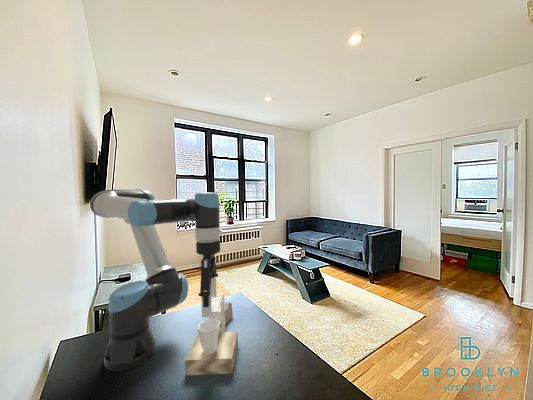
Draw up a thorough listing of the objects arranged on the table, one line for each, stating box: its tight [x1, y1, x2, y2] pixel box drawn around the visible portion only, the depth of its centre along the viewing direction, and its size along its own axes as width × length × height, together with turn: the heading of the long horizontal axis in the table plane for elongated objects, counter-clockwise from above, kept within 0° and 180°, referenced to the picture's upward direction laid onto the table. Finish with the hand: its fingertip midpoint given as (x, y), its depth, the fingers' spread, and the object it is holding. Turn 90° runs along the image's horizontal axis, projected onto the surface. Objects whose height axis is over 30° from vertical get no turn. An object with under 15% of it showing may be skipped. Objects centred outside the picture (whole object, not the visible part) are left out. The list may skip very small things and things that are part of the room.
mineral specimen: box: [225, 301, 233, 326], centre depth 98 cm, size 13×7×6 cm, turn 164°
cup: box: [197, 319, 220, 355], centre depth 74 cm, size 7×10×8 cm
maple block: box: [184, 330, 239, 376], centre depth 76 cm, size 14×14×5 cm
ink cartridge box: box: [208, 293, 227, 332], centre depth 88 cm, size 9×5×15 cm, turn 4°
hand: (209, 305), depth 75 cm, fingers open, 13 cm apart
